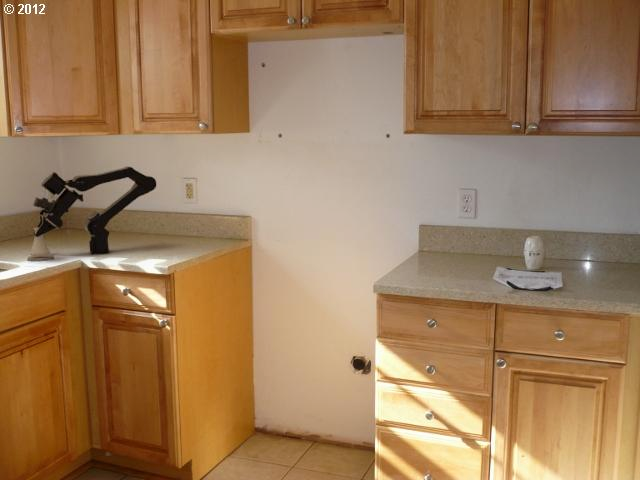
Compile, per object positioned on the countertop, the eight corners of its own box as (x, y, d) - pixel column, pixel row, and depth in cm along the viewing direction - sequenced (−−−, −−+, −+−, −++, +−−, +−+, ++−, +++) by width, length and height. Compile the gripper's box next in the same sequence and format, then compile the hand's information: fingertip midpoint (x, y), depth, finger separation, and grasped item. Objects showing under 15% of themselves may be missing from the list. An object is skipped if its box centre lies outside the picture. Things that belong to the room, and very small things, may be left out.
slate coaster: (54, 255, 268) (54, 253, 268) (51, 260, 260) (51, 258, 259) (29, 257, 266) (29, 255, 266) (25, 261, 257) (25, 259, 257)
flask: (27, 256, 258) (25, 229, 257) (33, 253, 266) (31, 226, 264) (47, 255, 259) (45, 228, 258) (53, 252, 266) (51, 226, 265)
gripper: (41, 187, 268) (13, 219, 265) (50, 191, 252) (20, 225, 249) (65, 206, 274) (37, 237, 270) (75, 211, 258) (46, 244, 254)
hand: (34, 235), depth 261 cm, fingers closed on flask, 3 cm apart
